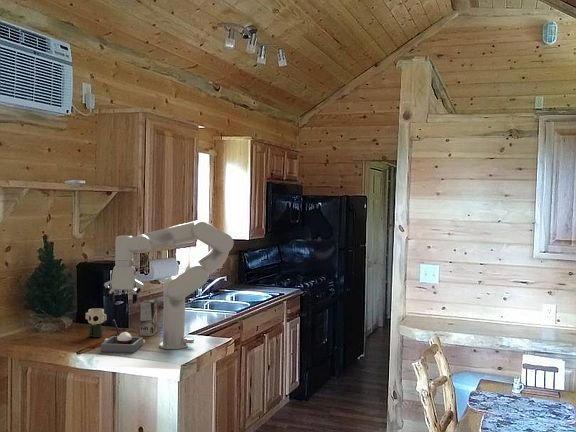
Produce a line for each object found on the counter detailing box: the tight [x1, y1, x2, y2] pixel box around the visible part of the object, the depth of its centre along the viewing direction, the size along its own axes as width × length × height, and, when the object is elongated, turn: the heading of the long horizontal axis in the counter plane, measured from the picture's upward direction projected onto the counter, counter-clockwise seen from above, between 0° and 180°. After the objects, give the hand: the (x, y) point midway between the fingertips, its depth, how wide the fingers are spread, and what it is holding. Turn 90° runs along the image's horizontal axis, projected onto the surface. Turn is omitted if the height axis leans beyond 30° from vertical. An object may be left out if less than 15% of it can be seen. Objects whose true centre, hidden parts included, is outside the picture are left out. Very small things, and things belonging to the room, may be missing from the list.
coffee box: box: [139, 299, 158, 337], centre depth 300 cm, size 9×6×16 cm
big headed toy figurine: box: [85, 308, 107, 338], centre depth 290 cm, size 11×7×13 cm, turn 76°
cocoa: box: [112, 319, 135, 345], centre depth 270 cm, size 10×6×12 cm, turn 70°
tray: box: [100, 335, 144, 354], centre depth 271 cm, size 14×15×4 cm
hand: (123, 302), depth 270 cm, fingers open, 9 cm apart
